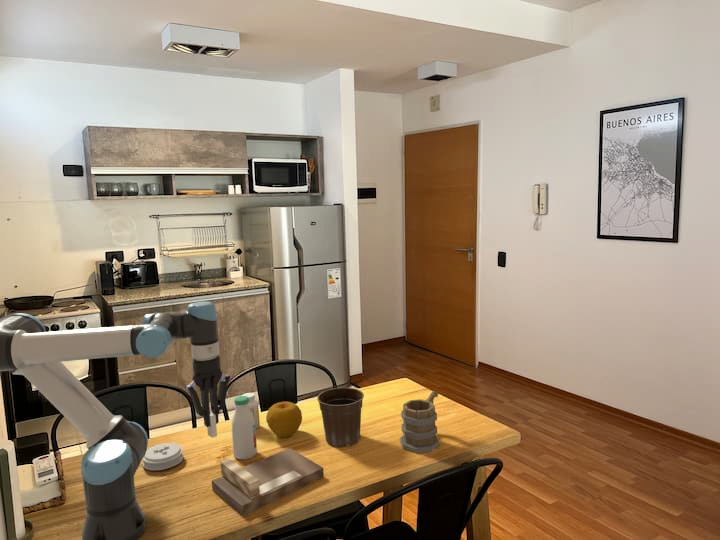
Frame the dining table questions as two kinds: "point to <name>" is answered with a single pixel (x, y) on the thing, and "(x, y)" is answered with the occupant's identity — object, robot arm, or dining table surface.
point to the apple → (284, 419)
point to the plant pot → (341, 415)
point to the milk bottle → (243, 430)
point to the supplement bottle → (253, 408)
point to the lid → (162, 456)
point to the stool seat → (270, 480)
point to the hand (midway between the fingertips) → (212, 435)
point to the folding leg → (240, 477)
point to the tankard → (419, 425)
